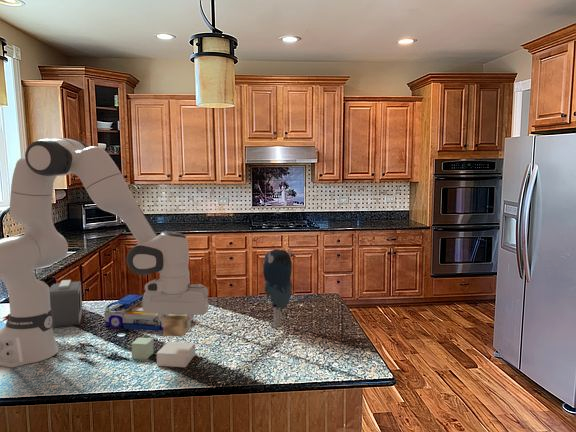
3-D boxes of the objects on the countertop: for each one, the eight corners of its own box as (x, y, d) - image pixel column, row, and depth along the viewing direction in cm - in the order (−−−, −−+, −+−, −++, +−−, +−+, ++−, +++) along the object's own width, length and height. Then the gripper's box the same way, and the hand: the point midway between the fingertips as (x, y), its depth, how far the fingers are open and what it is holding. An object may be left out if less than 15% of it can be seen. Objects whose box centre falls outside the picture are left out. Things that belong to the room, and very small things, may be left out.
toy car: (175, 334, 158) (175, 307, 157) (101, 328, 162) (100, 303, 161) (192, 319, 173) (192, 295, 172) (124, 314, 178) (124, 291, 177)
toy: (279, 319, 173) (279, 245, 170) (300, 325, 167) (300, 249, 164) (256, 328, 163) (256, 250, 160) (277, 335, 156) (277, 254, 153)
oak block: (163, 335, 131) (162, 319, 131) (170, 328, 137) (170, 313, 137) (182, 336, 131) (181, 320, 130) (188, 329, 137) (188, 313, 136)
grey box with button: (79, 326, 163) (77, 286, 162) (45, 330, 159) (43, 289, 158) (82, 313, 178) (80, 276, 177) (51, 316, 174) (49, 279, 173)
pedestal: (157, 365, 131) (156, 353, 131) (168, 353, 140) (168, 341, 140) (185, 367, 130) (185, 354, 130) (195, 354, 139) (194, 342, 139)
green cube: (131, 358, 136) (131, 343, 136) (139, 352, 141) (138, 337, 141) (147, 359, 136) (146, 344, 135) (153, 352, 141) (153, 338, 140)
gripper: (210, 282, 135) (211, 324, 136) (148, 280, 137) (149, 322, 138) (204, 287, 128) (205, 332, 130) (139, 285, 131) (140, 329, 132)
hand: (176, 327), depth 134 cm, fingers closed on oak block, 6 cm apart
